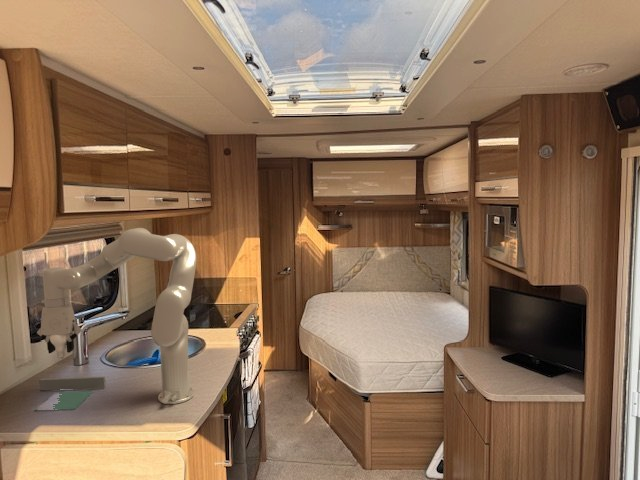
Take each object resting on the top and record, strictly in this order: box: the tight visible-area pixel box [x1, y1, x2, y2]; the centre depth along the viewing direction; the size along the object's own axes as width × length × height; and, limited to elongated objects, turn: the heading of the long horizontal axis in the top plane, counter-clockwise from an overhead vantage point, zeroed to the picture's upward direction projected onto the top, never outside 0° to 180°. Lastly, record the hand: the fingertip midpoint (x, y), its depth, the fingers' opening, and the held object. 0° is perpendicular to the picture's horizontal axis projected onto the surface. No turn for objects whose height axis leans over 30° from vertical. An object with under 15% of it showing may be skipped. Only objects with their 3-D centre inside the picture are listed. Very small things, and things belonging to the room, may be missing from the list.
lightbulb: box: [50, 335, 68, 359], centre depth 154 cm, size 6×6×11 cm
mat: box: [33, 390, 94, 411], centre depth 156 cm, size 14×14×1 cm
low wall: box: [38, 376, 107, 391], centre depth 166 cm, size 1×24×4 cm, turn 93°
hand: (61, 351), depth 155 cm, fingers closed on lightbulb, 5 cm apart
